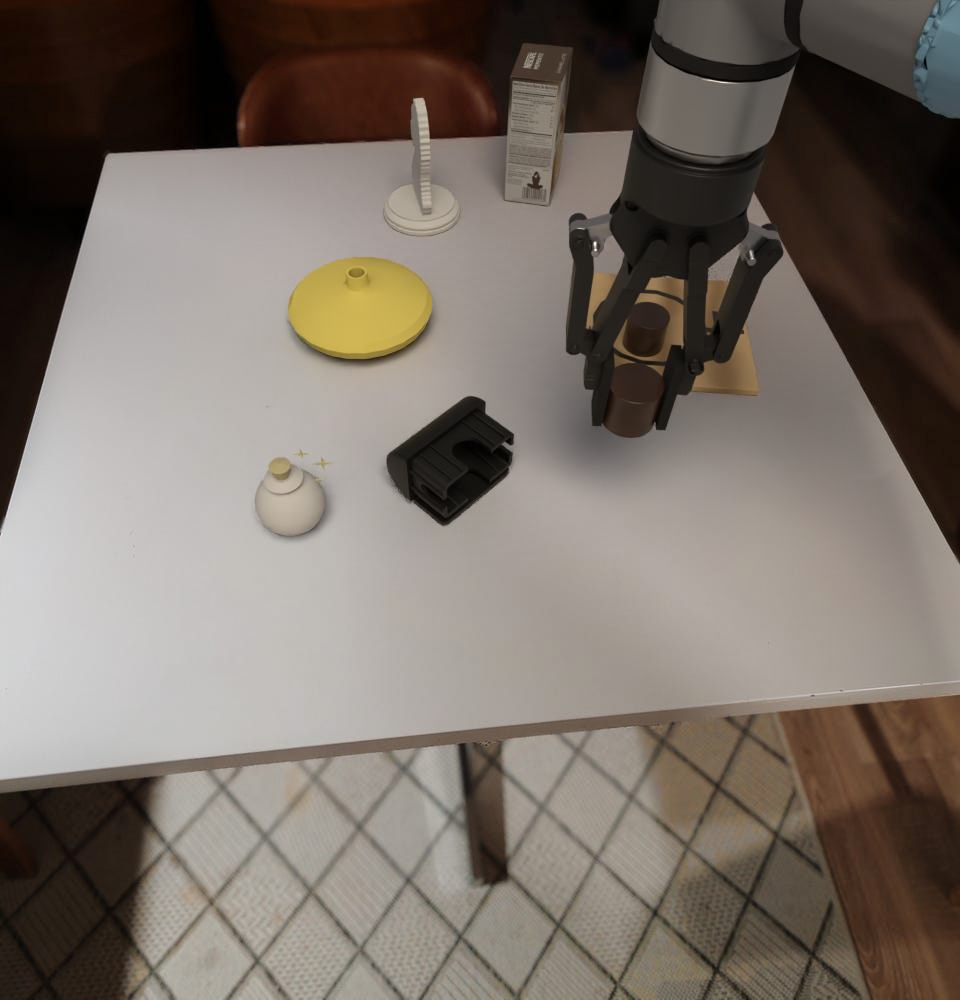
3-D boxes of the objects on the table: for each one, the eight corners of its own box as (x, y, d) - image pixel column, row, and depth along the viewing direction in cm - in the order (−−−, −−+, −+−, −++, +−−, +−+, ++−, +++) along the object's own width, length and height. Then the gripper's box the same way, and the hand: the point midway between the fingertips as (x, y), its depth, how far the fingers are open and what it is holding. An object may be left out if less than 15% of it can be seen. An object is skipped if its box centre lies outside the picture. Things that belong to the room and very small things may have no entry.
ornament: (265, 496, 72) (240, 424, 64) (345, 491, 72) (331, 419, 64) (260, 551, 68) (233, 482, 60) (344, 545, 69) (329, 476, 61)
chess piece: (451, 188, 103) (450, 71, 91) (467, 231, 97) (468, 112, 85) (378, 196, 101) (367, 78, 89) (390, 240, 96) (380, 121, 84)
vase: (461, 316, 87) (461, 264, 82) (370, 395, 80) (363, 344, 74) (357, 263, 93) (350, 211, 87) (262, 333, 85) (248, 281, 79)
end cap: (461, 431, 77) (461, 383, 72) (514, 470, 74) (518, 422, 69) (388, 488, 73) (382, 441, 67) (440, 531, 70) (439, 486, 64)
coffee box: (514, 164, 107) (522, 40, 94) (560, 170, 106) (574, 46, 93) (502, 201, 101) (509, 74, 88) (550, 207, 101) (564, 81, 88)
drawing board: (736, 287, 92) (738, 280, 91) (757, 395, 81) (760, 389, 80) (585, 277, 92) (586, 271, 91) (586, 384, 81) (587, 378, 81)
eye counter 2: (661, 331, 85) (669, 302, 82) (663, 358, 83) (672, 330, 80) (621, 328, 86) (627, 300, 82) (622, 356, 83) (629, 327, 80)
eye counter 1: (652, 399, 63) (663, 363, 60) (656, 440, 60) (667, 405, 57) (598, 396, 63) (606, 360, 60) (600, 436, 60) (608, 401, 57)
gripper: (844, 104, 45) (730, 388, 64) (546, 88, 45) (520, 376, 64) (876, 175, 40) (743, 458, 59) (544, 157, 41) (517, 444, 59)
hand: (627, 415), depth 62 cm, fingers closed on eye counter 1, 4 cm apart
